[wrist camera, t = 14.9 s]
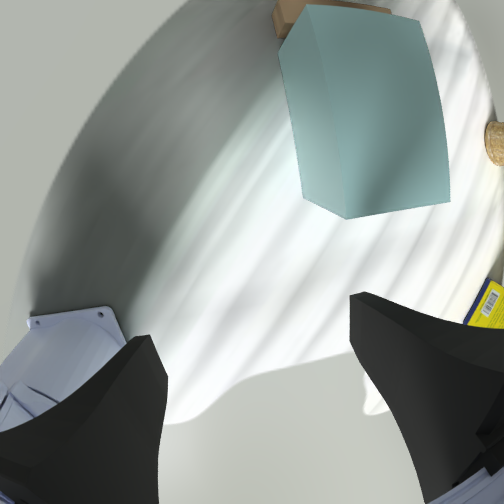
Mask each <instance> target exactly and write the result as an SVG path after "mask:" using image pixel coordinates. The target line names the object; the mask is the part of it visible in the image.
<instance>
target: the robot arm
mask: <svg viewBox="0 0 504 504" xmlns="http://www.w3.org/2000/svg"><path fill="white" fill-rule="evenodd" d="M99 312H101V313H103V315H101V314H100V313H99ZM38 321H39V322H38ZM27 324H28V326H29V328H30V331H29V332H28V333H27V334H26V335H25V336H24V337H23V339H22V340H21V341H20V342H19V343H18V344H17V346H16V347H15V348H14V349H13V350H12V351H11V353H10V354H9V355H8V356H7V357H6V359H5V360H4V361H3V362H2V364H1V365H0V504H159V497H158V453H159V445H160V438H161V433H162V427H163V421H164V416H165V410H166V404H167V393H168V375H167V373H166V371H165V369H164V367H163V364H162V362H161V360H160V358H159V355H158V353H157V351H156V348H155V346H154V344H153V341H152V339H151V336H150V335H143V336H135V337H134V338H132V339H131V340H130V341H129V342H128V343H126V341H125V338H124V336H123V334H122V332H121V329H120V327H119V325H118V322H117V320H116V317H115V315H114V313H113V310H112V309H111V308H110V307H108V306H102V307H96V308H89V309H83V310H76V311H69V312H62V313H55V314H48V315H41V316H33V317H29V318H28V319H27ZM350 343H351V345H352V347H353V349H354V352H355V354H356V356H357V358H358V360H359V362H360V363H361V365H362V366H363V368H364V369H365V371H366V373H367V374H368V376H369V377H370V379H371V380H372V382H373V383H374V385H375V386H376V388H377V389H378V391H379V392H380V394H381V395H382V397H383V398H384V400H385V401H386V403H387V405H388V406H389V408H390V410H391V412H392V414H393V416H394V418H395V420H396V422H397V424H398V426H399V428H400V431H401V433H402V435H403V438H404V440H405V443H406V445H407V447H408V450H409V453H410V455H411V458H412V461H413V464H414V467H415V469H416V472H417V476H418V479H419V483H420V486H421V490H422V494H423V498H424V502H425V504H504V329H497V328H485V327H477V326H470V325H464V324H460V323H455V322H451V321H447V320H443V319H439V318H436V317H433V316H430V315H426V314H423V313H420V312H418V311H415V310H412V309H409V308H407V307H404V306H402V305H399V304H397V303H394V302H392V301H389V300H387V299H384V298H382V297H379V296H377V295H374V294H371V293H368V292H361V293H357V294H354V295H350Z"/></svg>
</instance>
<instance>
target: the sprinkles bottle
mask: <svg viewBox="0 0 504 504" xmlns="http://www.w3.org/2000/svg"><path fill="white" fill-rule="evenodd" d="M485 143H486V149H487V153H488V156H489V158H490V159H491V161H492V162H493V163H494V164H495V165H497V166H504V123H503V122H502V123H500V122H497V121H492V122H490V123H489V124H488V126H487V129H486V134H485Z"/></svg>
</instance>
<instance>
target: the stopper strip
mask: <svg viewBox="0 0 504 504" xmlns="http://www.w3.org/2000/svg"><path fill="white" fill-rule="evenodd" d="M306 4H311V5H328V6H340V7H349V8H357V9H364V10H370V11H376V12H382V13H387V14H391V11H390V9H386V8H381V7H376V6H371V5H364V4H358V3H351V2H342V1H332V0H278V1H277V3H276V6H275V8H274V11H273V13H272V19H273V23H274V27H275V31H276V35H277V38H286V37H287V36H288V34H289V32H290V30H291V29H292V27H293V25H294V24H295V22H296V20H297V19H298V17H299V15H300V14H301V12H302V11H303V9H304V7H305V6H306Z"/></svg>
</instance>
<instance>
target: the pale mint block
mask: <svg viewBox="0 0 504 504" xmlns="http://www.w3.org/2000/svg"><path fill="white" fill-rule="evenodd" d="M278 57H279V62H280V66H281V71H282V76H283V81H284V86H285V91H286V96H287V101H288V106H289V112H290V117H291V123H292V129H293V134H294V140H295V146H296V153H297V159H298V165H299V172H300V179H301V186H302V193H303V198H304V199H306V200H308V201H310V202H312V203H314V204H316V205H318V206H320V207H322V208H324V209H326V210H328V211H330V212H332V213H334V214H336V215H338V216H340V217H342V218H344V219H346V220H347V219H353V218H359V217H364V216H370V215H376V214H382V213H387V212H393V211H399V210H405V209H411V208H417V207H423V206H429V205H435V204H441V203H447V202H450V176H449V161H448V149H447V140H446V132H445V125H444V118H443V112H442V106H441V100H440V95H439V90H438V86H437V81H436V77H435V73H434V69H433V65H432V61H431V57H430V54H429V50H428V47H427V43H426V40H425V37H424V34H423V31H422V28H421V25H420V22H419V21H417V20H413V19H409V18H405V17H401V16H396V15H392V14H387V13H382V12H376V11H370V10H364V9H357V8H349V7H340V6H328V5H311V4H306V6H305V7H304V9H303V11H302V12H301V14H300V15H299V17H298V19H297V20H296V22H295V24H294V25H293V27H292V29H291V30H290V32H289V34H288V36H287V37H286V39H285V41H284V43H283V44H282V46H281V48H280V50H279V51H278Z"/></svg>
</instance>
